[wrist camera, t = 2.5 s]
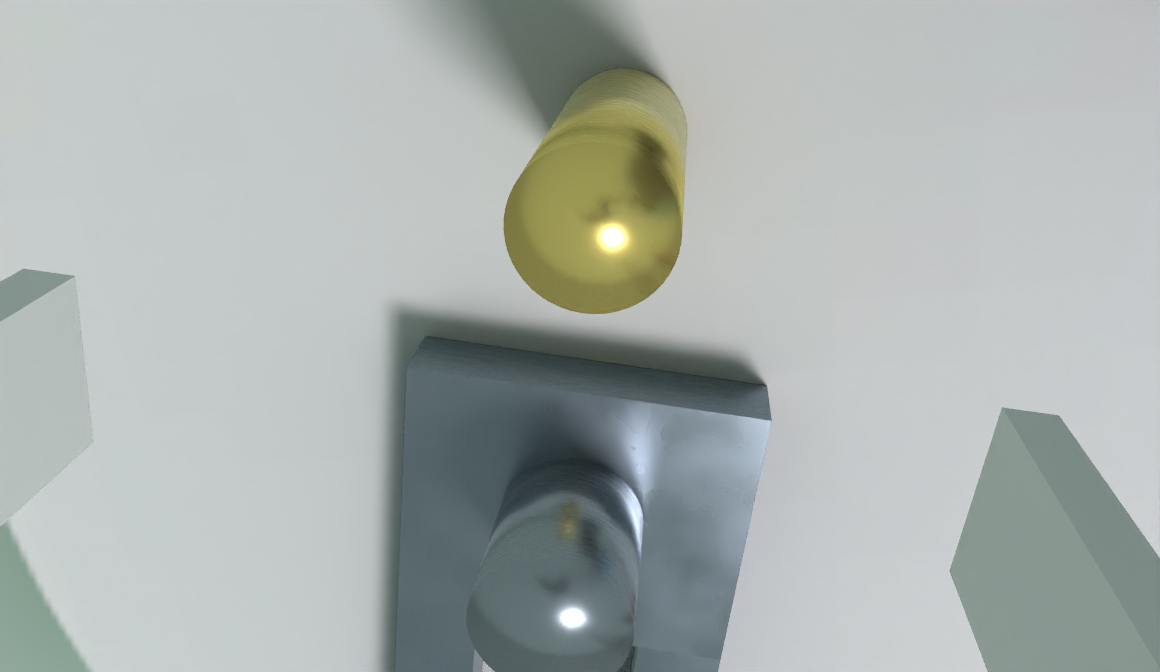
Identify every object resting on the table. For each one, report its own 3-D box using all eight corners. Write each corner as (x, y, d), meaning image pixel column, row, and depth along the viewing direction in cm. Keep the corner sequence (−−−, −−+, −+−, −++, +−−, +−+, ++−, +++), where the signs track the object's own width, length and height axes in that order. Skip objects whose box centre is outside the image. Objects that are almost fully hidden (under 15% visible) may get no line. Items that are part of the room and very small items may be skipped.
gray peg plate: (425, 336, 35) (353, 452, 28) (766, 385, 34) (784, 518, 27) (407, 718, 42) (347, 888, 35) (687, 764, 42) (685, 948, 34)
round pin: (566, 60, 31) (510, 130, 21) (696, 77, 30) (695, 155, 21) (554, 186, 32) (497, 300, 23) (676, 202, 32) (668, 325, 23)
